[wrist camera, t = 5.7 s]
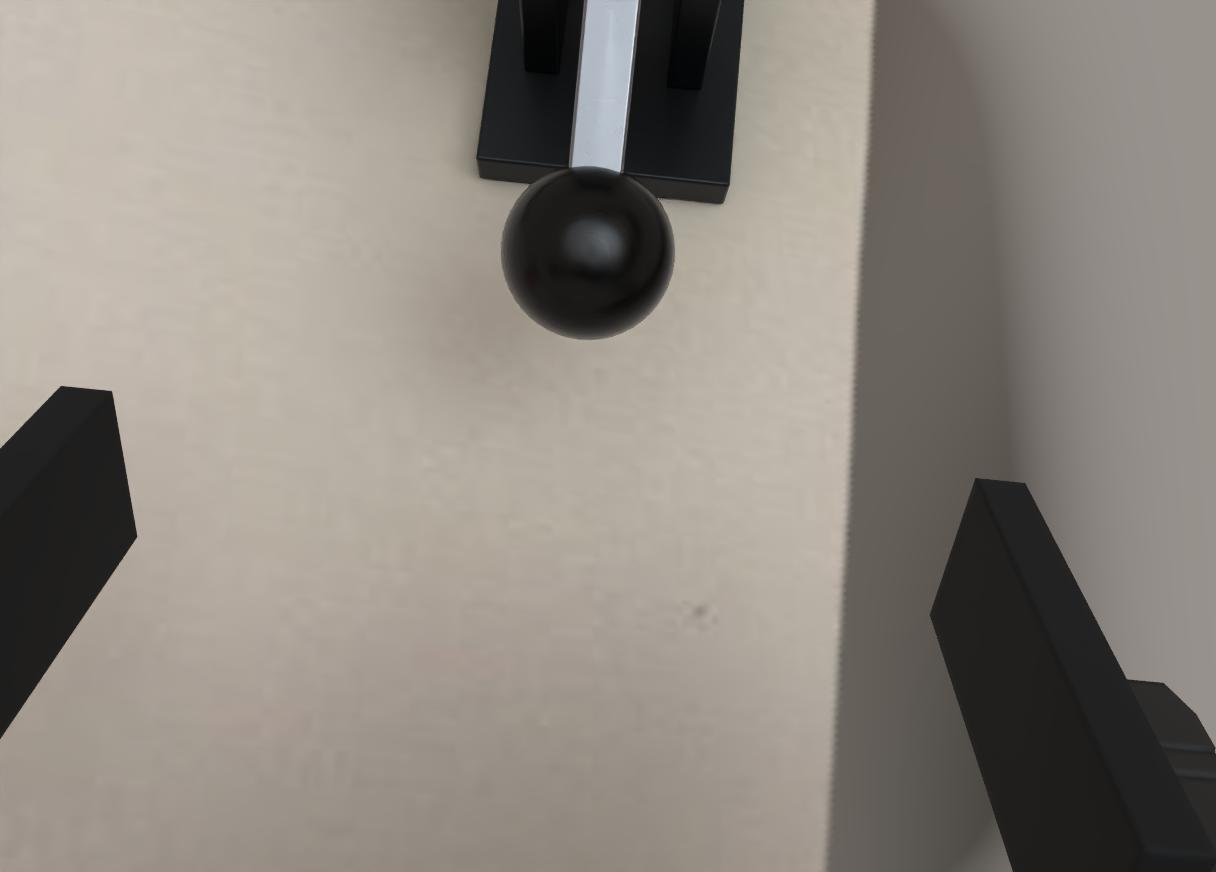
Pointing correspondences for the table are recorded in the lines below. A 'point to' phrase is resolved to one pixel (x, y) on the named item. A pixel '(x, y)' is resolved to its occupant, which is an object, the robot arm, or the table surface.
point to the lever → (592, 204)
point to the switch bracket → (660, 100)
